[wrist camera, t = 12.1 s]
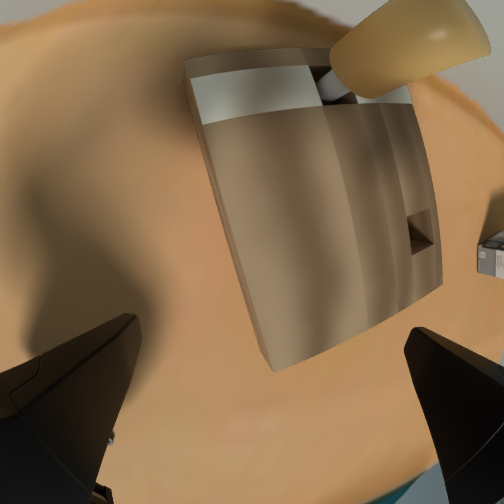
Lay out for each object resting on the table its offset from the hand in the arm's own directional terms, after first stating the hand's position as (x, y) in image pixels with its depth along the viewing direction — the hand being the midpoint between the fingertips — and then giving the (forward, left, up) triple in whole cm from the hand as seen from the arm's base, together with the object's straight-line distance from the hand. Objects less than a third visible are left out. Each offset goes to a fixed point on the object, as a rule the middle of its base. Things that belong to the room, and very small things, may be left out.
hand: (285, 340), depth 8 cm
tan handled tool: (+10, +10, -11) cm, 18 cm away
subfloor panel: (+9, +3, -11) cm, 14 cm away
